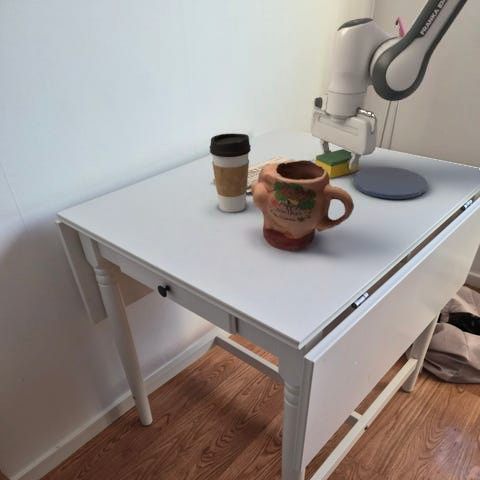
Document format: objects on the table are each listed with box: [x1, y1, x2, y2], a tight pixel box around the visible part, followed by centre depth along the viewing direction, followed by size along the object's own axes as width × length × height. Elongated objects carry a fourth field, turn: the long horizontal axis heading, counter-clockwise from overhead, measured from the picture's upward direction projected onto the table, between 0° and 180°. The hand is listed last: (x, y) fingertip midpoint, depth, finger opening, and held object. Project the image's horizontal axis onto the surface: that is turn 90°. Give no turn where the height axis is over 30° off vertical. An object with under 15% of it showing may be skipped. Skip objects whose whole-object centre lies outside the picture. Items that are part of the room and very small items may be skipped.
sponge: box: [315, 148, 360, 180], centre depth 108 cm, size 9×6×4 cm, turn 121°
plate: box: [352, 166, 428, 200], centre depth 101 cm, size 17×17×1 cm
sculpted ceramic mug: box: [251, 159, 355, 252], centre depth 78 cm, size 20×12×14 cm, turn 64°
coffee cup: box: [209, 133, 252, 213], centre depth 90 cm, size 8×8×15 cm
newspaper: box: [213, 156, 298, 193], centre depth 106 cm, size 23×12×2 cm, turn 129°
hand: (338, 162), depth 108 cm, fingers open, 8 cm apart
